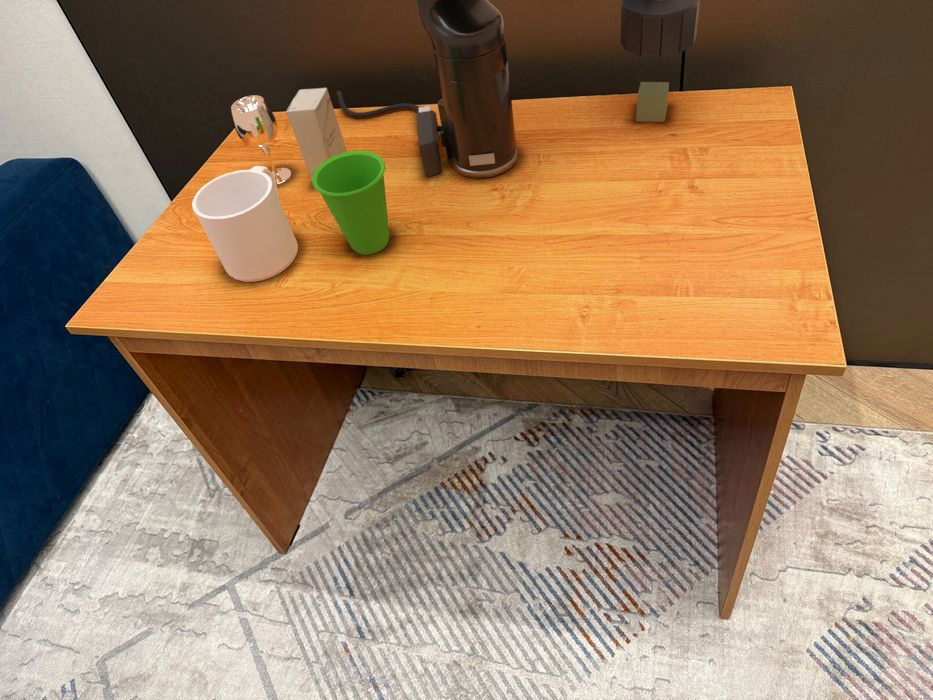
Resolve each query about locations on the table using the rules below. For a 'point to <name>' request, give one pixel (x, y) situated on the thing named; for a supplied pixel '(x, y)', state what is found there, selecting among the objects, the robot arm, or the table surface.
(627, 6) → the gray cylinder with peg
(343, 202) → the cup
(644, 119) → the block
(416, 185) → the table surface
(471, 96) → the robot arm
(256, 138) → the wineglass
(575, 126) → the table surface
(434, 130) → the usb drive
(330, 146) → the cosmetic box
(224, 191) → the mug
